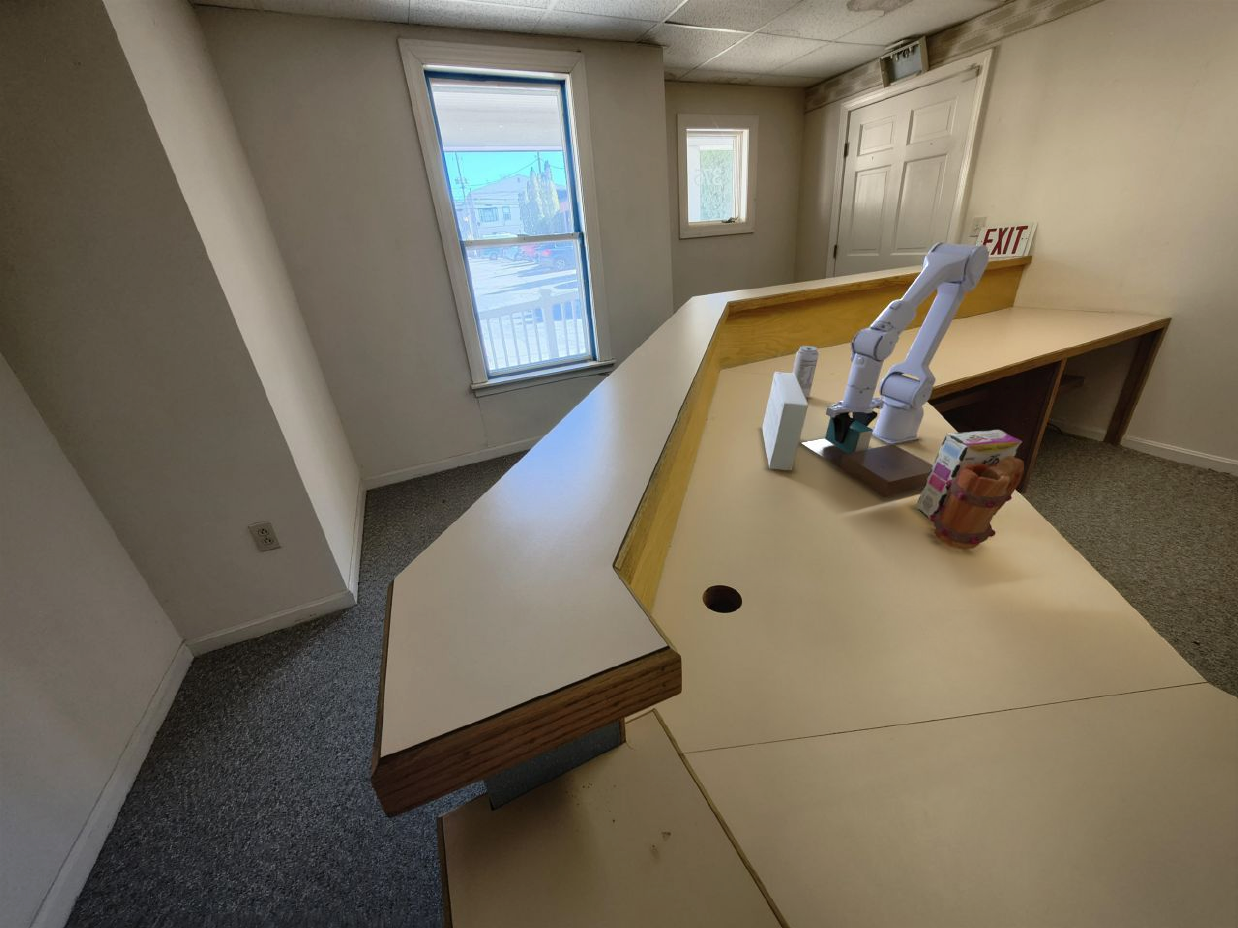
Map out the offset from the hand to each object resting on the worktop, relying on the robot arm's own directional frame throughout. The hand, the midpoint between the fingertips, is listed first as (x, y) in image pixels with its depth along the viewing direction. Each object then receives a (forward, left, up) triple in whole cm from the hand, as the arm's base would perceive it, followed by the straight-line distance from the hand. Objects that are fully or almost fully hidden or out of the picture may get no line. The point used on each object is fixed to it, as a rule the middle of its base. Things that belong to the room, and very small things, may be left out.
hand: (846, 439), depth 106 cm
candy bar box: (-1, +27, -3) cm, 27 cm away
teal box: (0, 0, -2) cm, 2 cm away
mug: (+3, +33, -3) cm, 33 cm away
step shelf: (0, +7, -3) cm, 7 cm away
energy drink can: (-13, -32, -3) cm, 35 cm away
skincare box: (+14, -6, -3) cm, 16 cm away
